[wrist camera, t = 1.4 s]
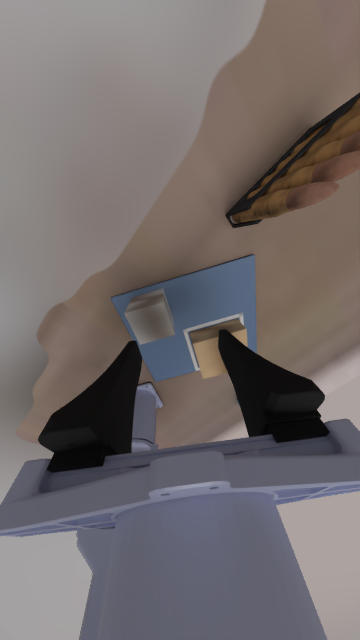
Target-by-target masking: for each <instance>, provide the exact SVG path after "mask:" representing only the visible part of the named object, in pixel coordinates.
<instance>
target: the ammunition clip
mask: <svg viewBox="0 0 360 640" xmlns="http://www.w3.org/2000/svg"><path fill="white" fill-rule="evenodd" d="M358 169H360V93H359V94H357V95H356V96H354V97H353V98H352V99H350V100H349V101H347V102H346V103H345V104H343V105H342V106H340V107H339V108H338V109H336V110H335V111H334V112H332V113H331V114H329V115H328V116H327V117H325V118H324V119H322V120H321V121H320V122H318V123H317V124H315V125H314V126H313V127H311V128H310V129H309V130H308V131H307V132H306V133H305V134H304V135H303V136H302V137H301V138H300V139H299V140H298V141H297V142H296V143H295V144H294V145H293V146H292V147H291V148H290V149H289V150H288V151H287V152H286V153H285V154H284V155H283V156H282V157H281V159H280V160H279V161H278V162H277V163H276V164H275V165H274V166H273V167H272V168H271V169H270V170H269V171H268V172H267V173H266V174H265V175H264V176H263V177H262V178H261V179H260V180H259V181H258V182H257V183H256V184H255V185H254V186H253V187H252V188H251V189H250V190H249V191H248V192H247V193H246V194H245V195H244V196H243V197H242V198H241V199H240V200H239V201H238V202H237V203H236V204H235V205H234V206H233V207H232V209H231V210H230V211H229V212H228V213H227V214H226V217H227V219H228V220H229V222H230V223H231V225H232V227H233V228H237V227H242V226H248V225H254V224H258V223H259V222H260V221H262V220H263V219H266V218H272V217H277V216H280V215H282V214H284V213H286V212H290V211H293V210H296V209H300V208H304V207H307V206H310V205H312V204H315V203H317V202H319V201H321V200H323V199H325V198H327V197H329V196H330V195H332V194H333V193H334V192H335V191H337V190H338V188H339V185H338V184H336V183H333V182H335V181H337V180H339V179H341V178H343V177H346V176H347V175H349V174H351V173H353V172H355V171H357V170H358Z"/></svg>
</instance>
